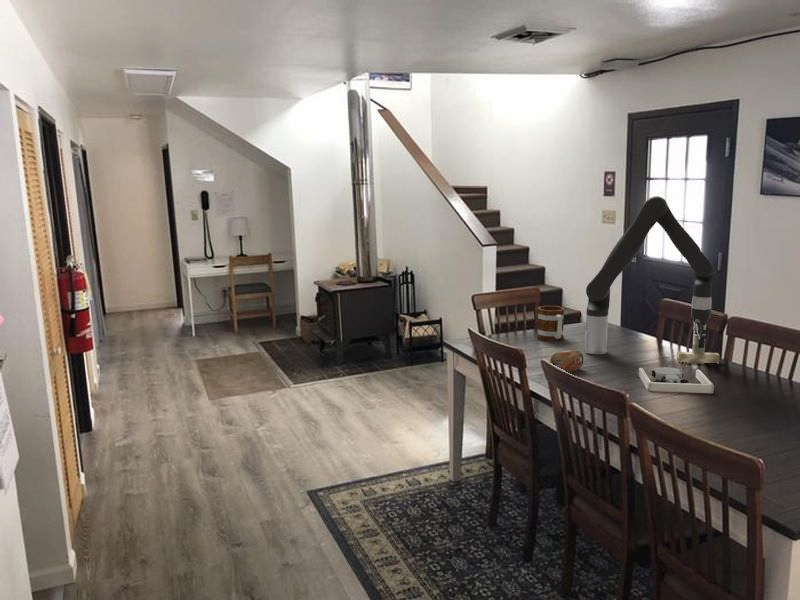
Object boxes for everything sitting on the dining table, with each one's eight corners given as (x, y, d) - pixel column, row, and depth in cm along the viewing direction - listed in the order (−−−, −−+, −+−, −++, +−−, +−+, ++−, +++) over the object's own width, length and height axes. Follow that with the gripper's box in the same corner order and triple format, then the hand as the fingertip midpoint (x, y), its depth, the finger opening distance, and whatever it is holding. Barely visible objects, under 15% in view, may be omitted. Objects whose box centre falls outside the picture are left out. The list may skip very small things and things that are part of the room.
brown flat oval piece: (553, 374, 257) (553, 354, 256) (548, 372, 260) (549, 352, 259) (583, 369, 263) (584, 349, 261) (578, 367, 266) (579, 347, 264)
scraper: (678, 363, 269) (679, 335, 267) (676, 361, 272) (678, 333, 270) (718, 364, 266) (721, 336, 264) (716, 362, 269) (718, 334, 267)
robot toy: (692, 392, 236) (680, 377, 250) (693, 381, 234) (681, 366, 249) (658, 391, 237) (647, 376, 251) (659, 380, 236) (648, 365, 250)
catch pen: (648, 390, 235) (648, 383, 235) (638, 375, 254) (639, 367, 253) (713, 393, 231) (713, 385, 230) (699, 377, 250) (699, 369, 249)
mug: (532, 335, 320) (533, 306, 317) (558, 334, 322) (559, 304, 319) (546, 345, 301) (546, 314, 298) (573, 343, 303) (574, 313, 300)
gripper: (687, 303, 272) (685, 341, 275) (696, 310, 258) (693, 350, 261) (706, 303, 271) (703, 341, 274) (716, 310, 257) (713, 350, 260)
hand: (698, 345), depth 268 cm, fingers open, 6 cm apart
